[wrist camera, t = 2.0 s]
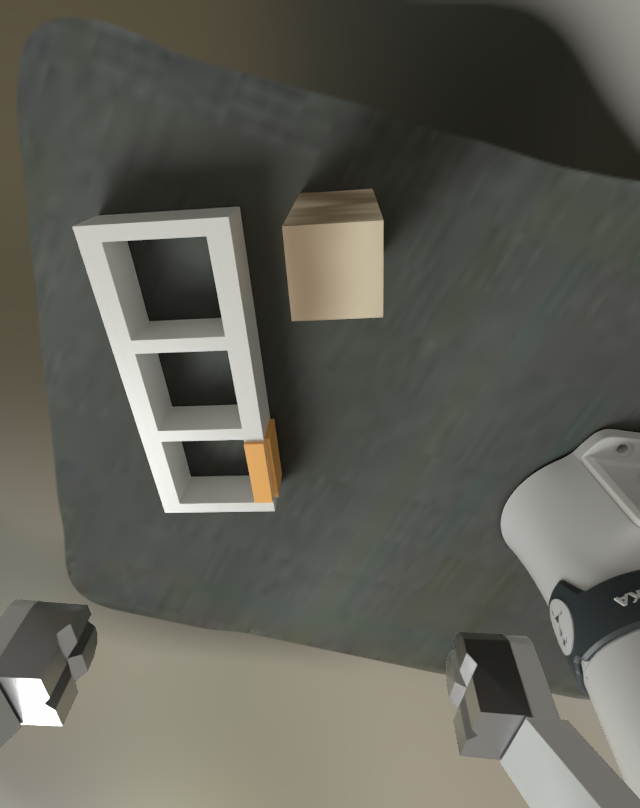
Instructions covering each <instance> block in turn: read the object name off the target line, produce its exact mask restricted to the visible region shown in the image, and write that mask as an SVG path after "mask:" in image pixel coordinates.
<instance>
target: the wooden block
mask: <svg viewBox="0 0 640 808" xmlns="http://www.w3.org/2000/svg"><path fill="white" fill-rule="evenodd" d="M383 229H384V220H383V217H382V214H381V212H380V209H379V206H378V203H377V200H376V197H375V194H374V191H373V189H359V190H343V191H328V192H312V193H300V194H299V196H298V198H297V199H296V201H295V203H294V205H293V207H292V209H291V211H290V212H289V214H288V216H287V218H286V220H285V222H284V224H283V225H282V231H283V241H284V251H285V261H286V270H287V280H288V290H289V300H290V309H291V319H292V321H309V320H332V319H354V318H376V317H383Z"/></svg>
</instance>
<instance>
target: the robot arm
mask: <svg viewBox="0 0 640 808" xmlns="http://www.w3.org/2000/svg"><path fill="white" fill-rule="evenodd" d="M620 445H622V446H620ZM618 446H620V447H618ZM501 531H502V535H503V538H504V540H505V542H506V543H507V545H508V546H509V547H510V549H511V550H512V551H513V552H514V553H515V554H516V555H517V557H518V558H519V559H520V560H521V562H522V563H523V565H524V566H525V567H526V569H527V570H528V572H529V573H530V575H531V577H532V578H533V580H534V581H535V583H536V585H537V587H538V588H539V590H540V592H541V593H542V595H543V597H544V599H545V601H546V603H547V605H548V607H549V614H550V617H551V621H552V625H553V628H554V631H555V634H556V637H557V640H558V642H559V645H560V647H561V649H562V651H563V653H564V654H565V656H566V659H567V661H568V664H569V666H570V668H571V670H572V673H573V675H574V677H575V679H576V682H577V684H578V686H579V687H580V689H581V690H582V691H583V693H584V694H585V695H587V696H588V697H589V698H590V699H591V702H592V704H593V706H594V709H595V711H596V714H597V716H598V718H599V721H600V723H601V725H602V728H603V731H604V733H605V735H606V738H607V740H608V743H609V745H610V747H611V750H612V752H613V755H614V757H615V759H616V762H617V764H618V767H619V769H620V771H621V774H622V776H623V779H624V781H625V782H624V781H623V780H622V779H621V778H620V777H619V776H618V775H617V774H616V773H615V771H613V769H612V768H611V767H610V766H609V765H608V764H607V763H606V762H605V761H604V759H603V758H602V757H601V756H600V755H599V754H598V753H597V752H596V751H595V750H594V749H593V747H592V746H591V745H590V744H589V743H588V742H587V741H586V740H585V739H584V738H583V737H582V735H581V734H580V733H579V732H578V731H577V730H576V729H575V728H574V727H573V726H572V725H571V724H570V722H569V721H568V720H560V717H559V714H558V711H557V709H556V706H555V703H554V700H553V698H552V695H551V692H550V689H549V686H548V684H547V681H546V678H545V675H544V673H543V670H542V667H541V664H540V662H539V659H538V656H537V653H536V651H535V648H534V645H533V643H532V641H531V640H530V639H529V638H528V637H526V636H512V635H503V634H486V633H467V632H459V633H457V634H456V636H455V639H454V645H455V649H454V650H453V651H451V652H449V656H448V659H447V665H446V681H447V689H448V695H449V698H450V700H451V701H452V702H453V703H454V705H455V706H456V707H457V712H456V714H455V717H454V719H453V723H454V728H455V733H456V739H457V744H458V749H459V755H460V756H467V757H477V758H487V759H496V760H501V761H500V763H501V765H502V766H503V767H504V769H505V770H506V772H507V773H508V775H509V776H510V778H511V780H512V781H513V783H514V784H515V786H516V787H517V789H518V790H519V792H520V793H521V795H522V796H523V798H524V799H525V800H526V802H527V804H528V805H529V807H530V808H640V433H638V432H630V431H623V430H615V429H604V430H601V431H598V432H596V433H595V434H593V435H592V436H590V437H589V438H588V439H587V440H586V441H584V442H583V443H582V444H581V445H580V446H579V447H578V448H577V449H576V450H575V451H574V452H572V453H571V454H569V455H568V456H566V457H564V458H562V459H560V460H558V461H556V462H554V463H551V464H549V465H547V466H545V467H544V468H542V469H540V470H539V471H537V472H535V473H534V474H532V475H531V476H530V477H528V478H527V479H526V480H525V481H524V482H523V483H521V484H520V485H519V486H518V487H517V489H516V490H515V491H514V492H513V493H512V495H511V496H510V498H509V499H508V501H507V503H506V505H505V507H504V510H503V513H502V517H501ZM90 615H91V613H90V610H89V608H88V606H87V605H79V604H66V603H53V602H42V601H30V600H15V601H13V602H12V603H11V604H10V605H9V606H8V607H7V608H6V609H5V611H4V612H3V613H2V615H1V616H0V748H1V747H2V746H3V745H4V744H5V743H6V742H7V741H8V740H9V739H10V738H11V737H12V736H13V735H14V734H15V733H16V732H17V731H18V730H19V729H20V728H21V724H24V725H26V724H27V725H47V726H63V724H64V722H65V720H66V718H67V716H68V713H69V711H70V709H71V707H72V705H73V703H74V700H75V698H76V696H77V694H78V690H77V685H76V681H77V680H78V679H79V678H80V677H81V676H82V675H84V674H85V673H86V672H87V671H88V669H89V667H90V665H91V662H92V660H93V658H94V654H95V650H96V646H97V631H96V628H95V626H94V625H93V624H91V623H90V622H89V621H88V619H89V617H90Z"/></svg>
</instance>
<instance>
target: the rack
mask: <svg viewBox="0 0 640 808" xmlns="http://www.w3.org/2000/svg"><path fill="white" fill-rule="evenodd" d="M72 227H73V230H74V233H75V236H76V239H77V242H78V245H79V249H80V252H81V255H82V258H83V261H84V264H85V267H86V270H87V273H88V276H89V279H90V282H91V286H92V289H93V292H94V295H95V298H96V301H97V304H98V307H99V310H100V313H101V316H102V319H103V323H104V326H105V329H106V332H107V335H108V338H109V341H110V344H111V347H112V350H113V353H114V356H115V360H116V363H117V366H118V369H119V372H120V375H121V378H122V381H123V384H124V387H125V390H126V393H127V397H128V400H129V403H130V406H131V409H132V412H133V415H134V418H135V421H136V424H137V427H138V430H139V433H140V437H141V440H142V443H143V446H144V449H145V452H146V455H147V458H148V461H149V464H150V467H151V470H152V474H153V477H154V480H155V483H156V486H157V489H158V492H159V495H160V498H161V501H162V504H163V507H164V511H165V513H183V512H247V511H275V507H276V501H277V497H278V496H279V490H280V485H281V479H282V470H281V463H280V456H279V449H278V442H277V435H276V427H275V420H274V419H270V413H269V406H268V399H267V392H266V385H265V378H264V371H263V364H262V357H261V350H260V343H259V336H258V330H257V323H256V316H255V309H254V302H253V295H252V288H251V281H250V274H249V267H248V260H247V253H246V246H245V239H244V233H243V226H242V219H241V212H240V207H224V208H208V209H192V210H176V211H160V212H144V213H129V214H113V215H98V216H96V217H93V218H91V219H89V220H86V221H84V222H82V223H79V224H77V225H75V226H72ZM201 236H207V241H208V247H209V252H210V258H211V263H212V268H213V274H214V279H215V285H216V290H217V296H218V301H219V306H220V312H221V317H222V318H207V319H185V320H163V321H149V319H148V315H147V312H146V308H145V304H144V300H143V297H142V293H141V289H140V286H139V282H138V278H137V275H136V271H135V267H134V263H133V260H132V256H131V252H130V249H129V245H128V241H132V240H149V239H166V238H183V237H201ZM222 350H228V355H229V361H230V366H231V372H232V377H233V382H234V388H235V393H236V399H237V404H238V405H210V406H179V407H172V404H171V400H170V397H169V393H168V389H167V386H166V382H165V378H164V374H163V371H162V367H161V363H160V360H159V356H158V353H173V352H197V351H222ZM209 440H244V448H245V454H246V459H247V464H248V470H249V475H245V476H198V477H191V474H190V471H189V467H188V463H187V460H186V456H185V452H184V448H183V445H182V441H209Z"/></svg>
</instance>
